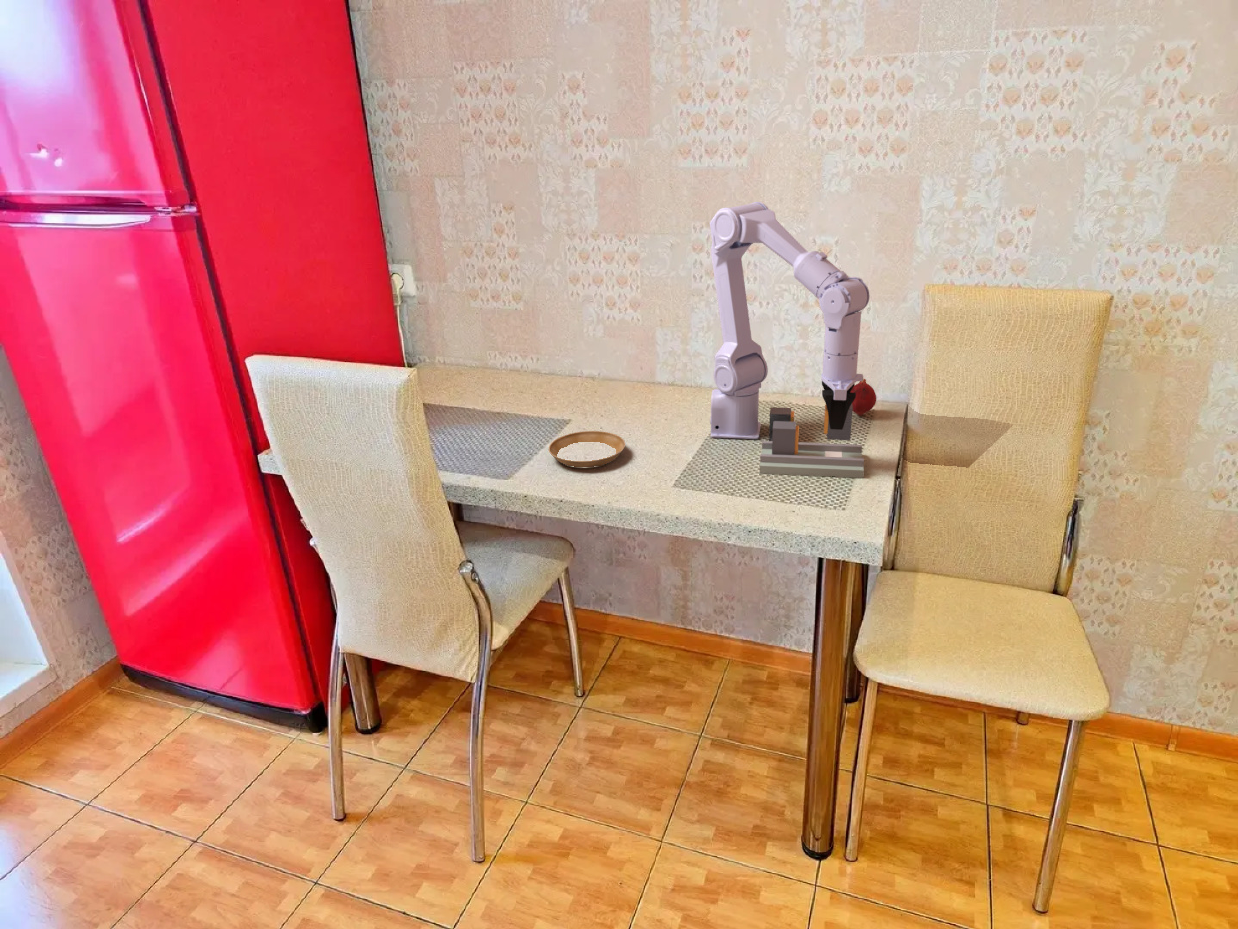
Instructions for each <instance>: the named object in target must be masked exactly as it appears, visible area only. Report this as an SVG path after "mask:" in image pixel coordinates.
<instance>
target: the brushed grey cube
mask: <svg viewBox="0 0 1238 929" xmlns="http://www.w3.org/2000/svg"><path fill="white" fill-rule="evenodd" d="M853 413H854V412H853V406H852V404H851V406H850V408H849V410H848V413H847V416H846V420H845V423H844V426H843V429H842V430H838V429H830V425H829V417H828V410H827V406H826V404H824V417H823V418H824V419H823V434H825V435H826V440H829V441H830V440H831V441H851V439H852V438H851V436H852V422H853Z"/></svg>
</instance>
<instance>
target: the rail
mask: <svg viewBox="0 0 1238 929" xmlns="http://www.w3.org/2000/svg"><path fill="white" fill-rule="evenodd" d="M799 436H800V425H797V422H796V421H794V422H786V421H774V422H773V438H772V441H769V440H762V441H761V452H760V455H759V456H760V457H759V458H760V459H759V474H770V475H771V474H772V475H787V476H810V477H811V476H812V477H828V476H831V477H832V476H835V477H834V478H850V477H851V479H852V478H853V479H855V478H856V479H863V478H864V471H865V470H864V462H865V460H864V458H863V454H862V452H863V451H862V450H863V446H862V445H863V444H854V443H853V444H852V443H851V444H850V443H849V444H848V443H829V442H827V443H826V442H825V443H823V442H802V441H801V442H799ZM832 478H833V477H832Z"/></svg>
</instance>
